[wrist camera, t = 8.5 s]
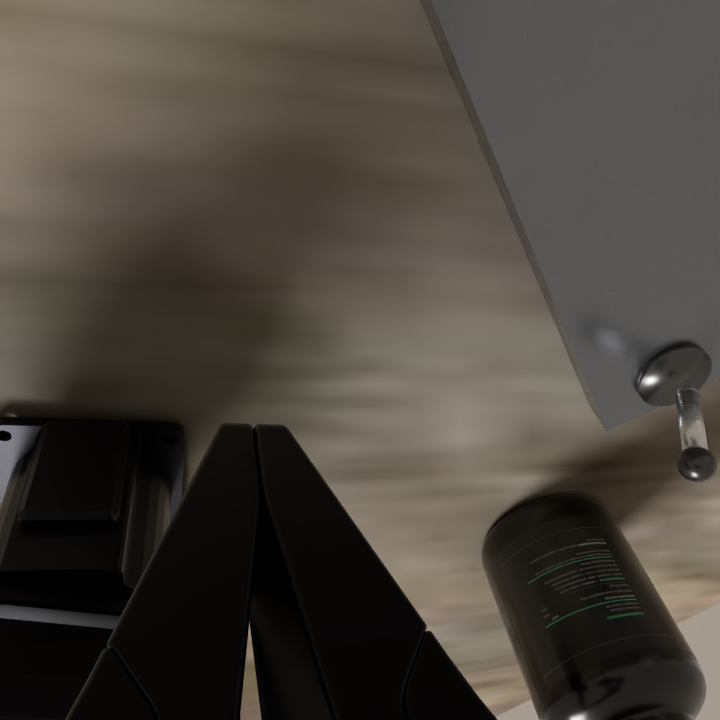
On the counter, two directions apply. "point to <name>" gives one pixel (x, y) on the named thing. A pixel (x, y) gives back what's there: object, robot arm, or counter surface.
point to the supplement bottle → (587, 617)
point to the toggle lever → (693, 437)
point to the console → (606, 176)
